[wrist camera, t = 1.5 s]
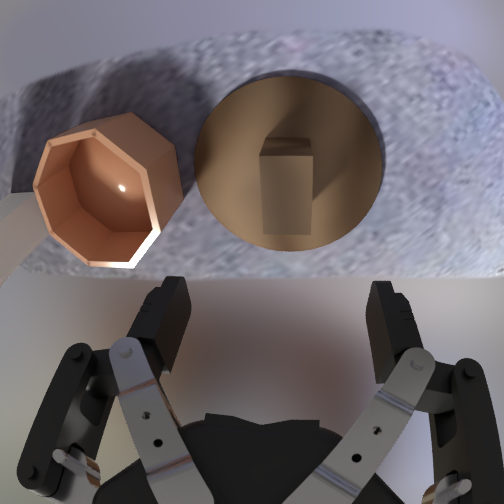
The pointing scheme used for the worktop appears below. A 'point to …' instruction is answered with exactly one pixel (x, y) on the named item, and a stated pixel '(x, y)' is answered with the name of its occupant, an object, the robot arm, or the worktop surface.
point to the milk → (19, 230)
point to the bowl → (108, 189)
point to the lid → (288, 164)
